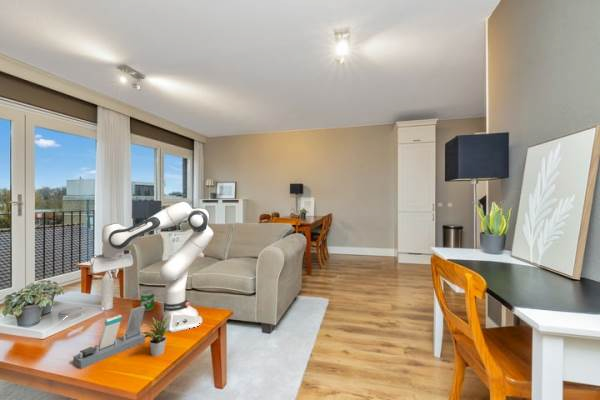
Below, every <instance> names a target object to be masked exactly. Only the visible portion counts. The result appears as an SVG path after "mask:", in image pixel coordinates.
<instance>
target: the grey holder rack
mask: <svg viewBox="0 0 600 400" xmlns="http://www.w3.org/2000/svg"><path fill="white" fill-rule="evenodd" d="M139 332H142V329H141V328H140V330H139ZM145 335H146V334H144V333H139V334H137V335H134V336H132V337H129V338H127V339H126V336H125V334H123V335H121V337H120V338H119V337H118V338H117V337H116V338H115V342H114V344H112V345H109V346H107V347H104V348H102V349H99V344H97V345H96V344H95V345H94V348H97V351H95V352H92V353H90V354H87V355H84V354H83V353H82V352H80V351H79V352H78V353H77V354H76V355H73V359H72V360H73V362H72V363H73V364H74V365H75V366H76V367H78V368H79V369H81V370H83V369H84V367H85V368H86V367H87V368H88V366H89V367H90V366H91V365H93V364H96V363H98V362H101V361H103V360H105V359H107V358H111V357H113V356H115V355H117V354H119V353H121V352H123V351H126V350H129V349H131V348H133V347H135V346H138V345H140V344H143V343H145V341H146V338H144V336H145ZM143 338H144V339H143Z"/></svg>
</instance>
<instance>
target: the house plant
mask: <svg viewBox="0 0 600 400" xmlns="http://www.w3.org/2000/svg"><path fill="white" fill-rule="evenodd" d="M168 317H169V316H168ZM168 317H167V318H166V319H164V320H163V319H162V321H161V319H159V320H158V319H156V318H154V317H152V320H153V322H151V324H152V325H150V324H147V323H142V325H144V326H147V327H149V330H150V331H149V332H148V331H141V332H139V333H141V334H143V335H145V336H144V338H145V339H146V338H151V339H150V340H149V346H150V353H151V356H152V357H158V356H161V355H163V354H164V351H165V346H166V342H167V337H166V336H164V335H165V334H167V333H169V332H170V333H172V332H171V331H167V330H165V329H167V327H165V325H166V324H167V322H168V320H169V319H168ZM167 319H168V320H167ZM166 320H167V322H166ZM163 321H164V322H163ZM165 322H166V324H165ZM169 322H170V321H169ZM162 323H163V324H162ZM164 324H165V325H164ZM167 325H168V324H167ZM161 326H162V328H161ZM168 326H169V325H168ZM164 327H165V328H164ZM144 338H143V339H144Z"/></svg>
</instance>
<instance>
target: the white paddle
mask: <svg viewBox="0 0 600 400" xmlns="http://www.w3.org/2000/svg"><path fill="white" fill-rule="evenodd" d="M122 319H123V315H122V314H118V315H116V316H112V317H109V318H107V319H105V321H104V326H103V329H102V332H101V335H100V339H99V343H98V346H99V349H102V348H104V347H107V346H109V345H112V344H114V342H115V338H116V339H117V334H118V332H119V328H120V324H121V321H122Z"/></svg>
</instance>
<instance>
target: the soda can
mask: <svg viewBox="0 0 600 400" xmlns="http://www.w3.org/2000/svg"><path fill="white" fill-rule="evenodd" d="M154 303H155V292H154V291H153V290H144V291H142V292H141V294H140V306H143V305H144V306H145V310H144V312H149V311H151V310H153V309H154V307H155V306H154Z"/></svg>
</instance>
